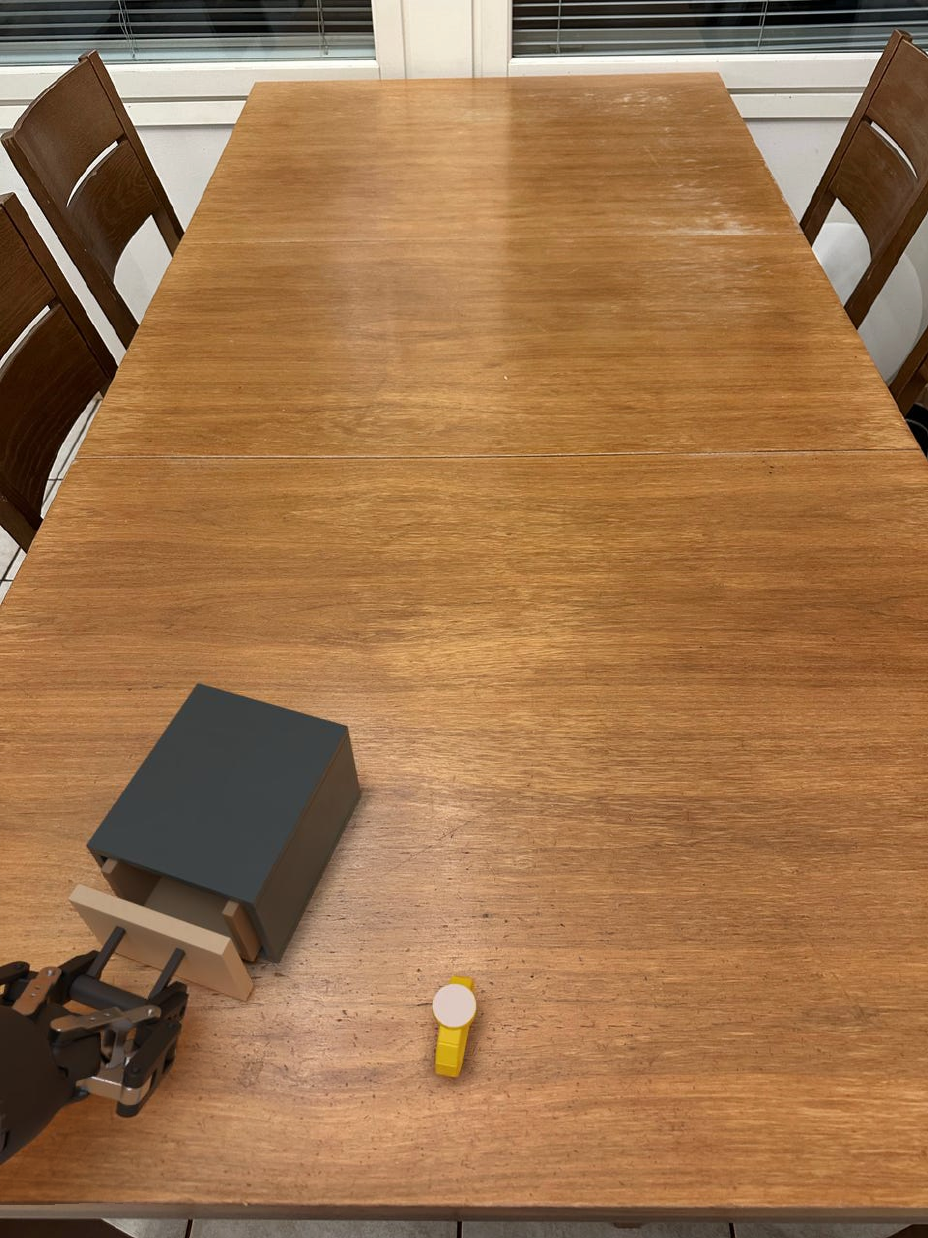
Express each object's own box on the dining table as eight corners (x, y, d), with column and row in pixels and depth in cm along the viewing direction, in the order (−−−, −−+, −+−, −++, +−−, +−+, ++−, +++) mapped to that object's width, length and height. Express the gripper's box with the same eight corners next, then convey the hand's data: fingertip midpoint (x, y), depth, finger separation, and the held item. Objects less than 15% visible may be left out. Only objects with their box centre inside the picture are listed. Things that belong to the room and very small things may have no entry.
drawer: (208, 1075, 61) (179, 1034, 56) (61, 1016, 64) (18, 971, 58) (329, 834, 73) (315, 779, 67) (200, 793, 76) (176, 736, 70)
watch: (468, 1091, 61) (466, 1062, 57) (426, 1083, 62) (421, 1053, 57) (484, 999, 65) (484, 965, 61) (445, 992, 65) (442, 957, 61)
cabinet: (278, 964, 67) (252, 903, 60) (126, 909, 70) (85, 845, 63) (361, 795, 76) (348, 725, 69) (224, 753, 79) (197, 682, 72)
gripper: (-199, 1137, 47) (36, 998, 63) (41, 1252, 43) (225, 1073, 60) (-174, 995, 46) (57, 892, 63) (72, 1100, 43) (249, 962, 59)
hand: (138, 981), depth 61 cm, fingers closed on drawer, 5 cm apart
